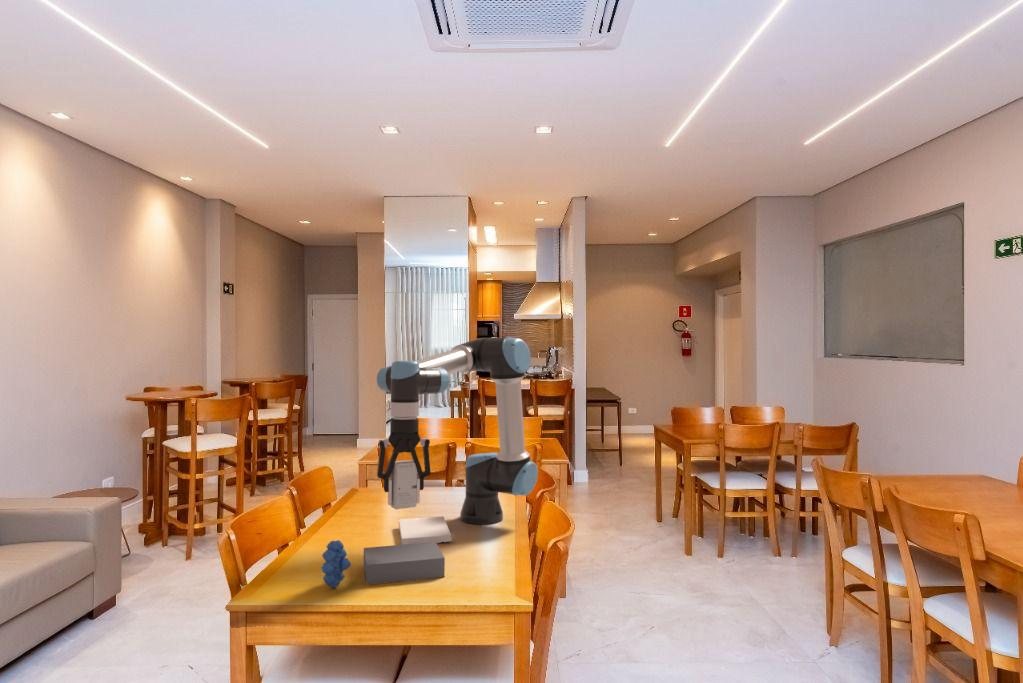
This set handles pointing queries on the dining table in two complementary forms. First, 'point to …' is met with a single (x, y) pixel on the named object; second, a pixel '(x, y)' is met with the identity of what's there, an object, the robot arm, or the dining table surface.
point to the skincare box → (404, 484)
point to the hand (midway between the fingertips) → (403, 502)
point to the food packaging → (424, 530)
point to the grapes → (334, 563)
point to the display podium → (403, 562)
